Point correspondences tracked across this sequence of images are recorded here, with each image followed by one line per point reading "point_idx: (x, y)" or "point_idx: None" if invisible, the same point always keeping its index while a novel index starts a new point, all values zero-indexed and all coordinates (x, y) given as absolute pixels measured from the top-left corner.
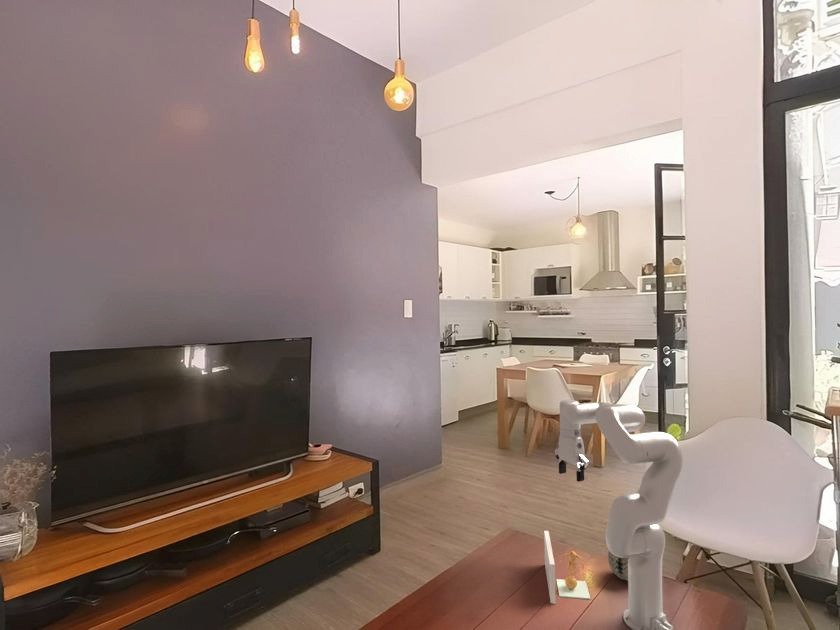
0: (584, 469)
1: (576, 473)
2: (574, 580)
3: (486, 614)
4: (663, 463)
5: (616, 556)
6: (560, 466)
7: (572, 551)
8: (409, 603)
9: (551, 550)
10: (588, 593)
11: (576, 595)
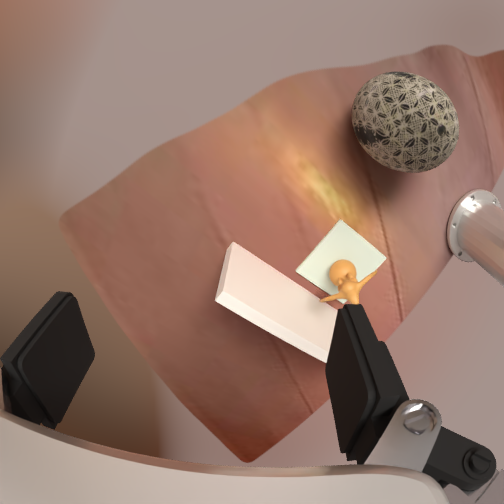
0: (441, 435)
1: (337, 433)
2: (355, 276)
3: (303, 405)
4: None
5: (416, 172)
6: (66, 405)
7: (357, 302)
8: (229, 446)
9: (325, 352)
10: (374, 249)
11: (363, 275)
